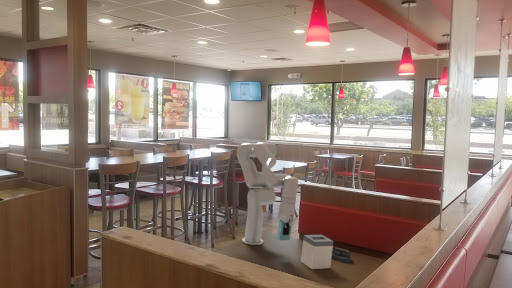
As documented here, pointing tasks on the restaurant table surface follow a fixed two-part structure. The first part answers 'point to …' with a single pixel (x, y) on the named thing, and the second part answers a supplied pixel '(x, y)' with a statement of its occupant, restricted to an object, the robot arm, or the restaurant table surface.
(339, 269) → the restaurant table surface
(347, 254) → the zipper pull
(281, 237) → the teal block
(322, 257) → the white slotted box
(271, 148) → the robot arm
